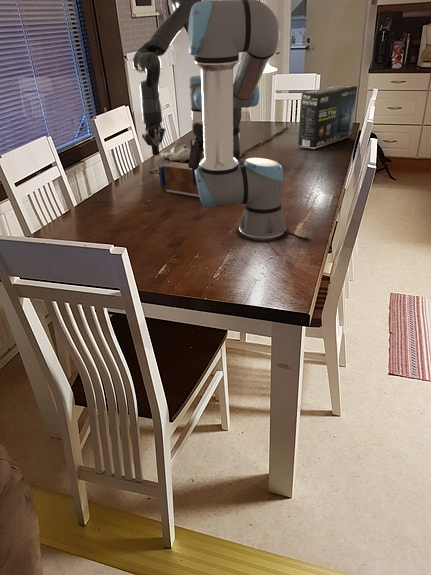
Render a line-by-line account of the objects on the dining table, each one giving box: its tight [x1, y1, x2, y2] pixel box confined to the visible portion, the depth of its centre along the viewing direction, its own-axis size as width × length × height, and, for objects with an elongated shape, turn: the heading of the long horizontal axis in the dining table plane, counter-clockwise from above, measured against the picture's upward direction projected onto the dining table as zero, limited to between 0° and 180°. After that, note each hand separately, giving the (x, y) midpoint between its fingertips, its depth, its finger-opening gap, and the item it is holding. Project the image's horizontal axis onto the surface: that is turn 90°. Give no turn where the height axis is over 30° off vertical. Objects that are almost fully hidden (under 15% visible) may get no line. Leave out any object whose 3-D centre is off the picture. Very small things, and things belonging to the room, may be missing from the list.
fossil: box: [160, 142, 191, 163], centre depth 229 cm, size 18×11×15 cm
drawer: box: [149, 163, 168, 189], centre depth 185 cm, size 25×5×9 cm, turn 61°
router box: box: [297, 84, 358, 151], centre depth 238 cm, size 36×11×27 cm, turn 134°
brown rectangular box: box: [164, 161, 200, 198], centre depth 183 cm, size 21×6×10 cm, turn 61°
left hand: (156, 155), depth 185 cm, fingers closed
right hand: (204, 180), depth 179 cm, fingers open, 11 cm apart
